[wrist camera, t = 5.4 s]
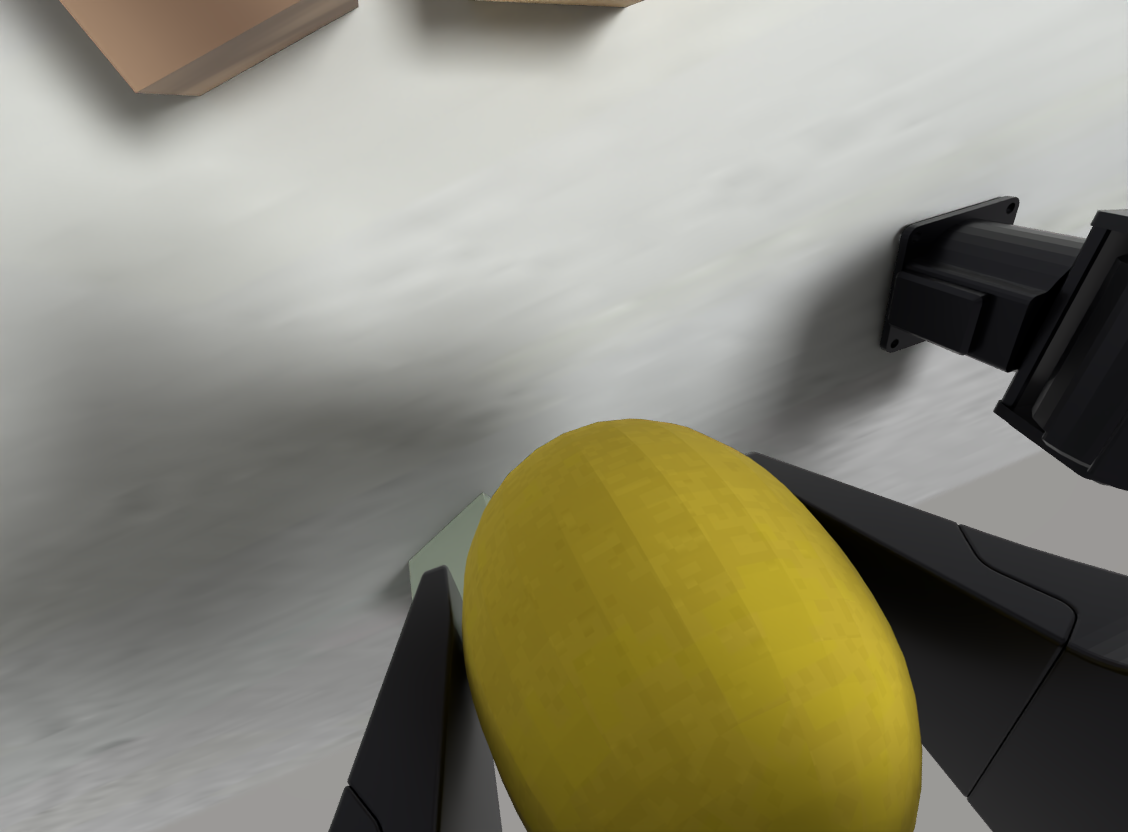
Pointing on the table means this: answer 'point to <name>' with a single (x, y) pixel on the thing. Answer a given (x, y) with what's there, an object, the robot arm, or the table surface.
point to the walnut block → (196, 37)
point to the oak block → (579, 2)
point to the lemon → (680, 647)
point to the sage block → (450, 546)
